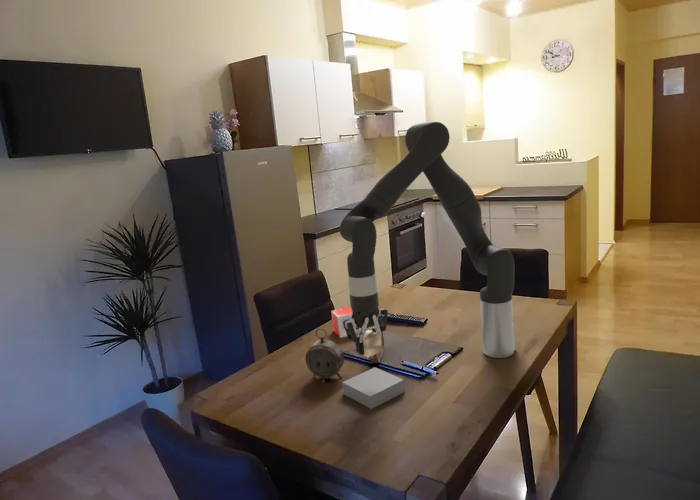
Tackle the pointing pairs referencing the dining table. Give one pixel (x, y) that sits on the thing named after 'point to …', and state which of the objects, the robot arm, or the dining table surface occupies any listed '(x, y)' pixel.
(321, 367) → the alarm clock
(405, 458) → the dining table surface
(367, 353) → the birch cube
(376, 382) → the base block
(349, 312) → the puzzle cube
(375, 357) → the tin
